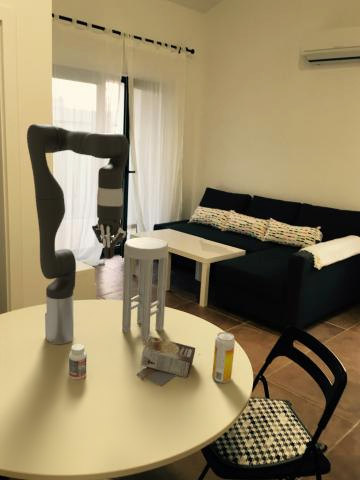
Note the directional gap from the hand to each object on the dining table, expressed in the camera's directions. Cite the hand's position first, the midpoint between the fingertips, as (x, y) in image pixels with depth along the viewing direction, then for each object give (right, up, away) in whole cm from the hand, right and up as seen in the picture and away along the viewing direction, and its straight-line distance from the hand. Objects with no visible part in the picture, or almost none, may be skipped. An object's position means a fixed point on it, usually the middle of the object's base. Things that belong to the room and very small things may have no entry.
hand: (108, 258), depth 138 cm
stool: (+7, -29, +35) cm, 46 cm away
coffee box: (+10, -31, +11) cm, 34 cm away
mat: (+15, -37, +8) cm, 41 cm away
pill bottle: (-10, -37, +4) cm, 39 cm away
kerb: (+14, -37, +9) cm, 40 cm away
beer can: (+35, -39, +7) cm, 53 cm away
